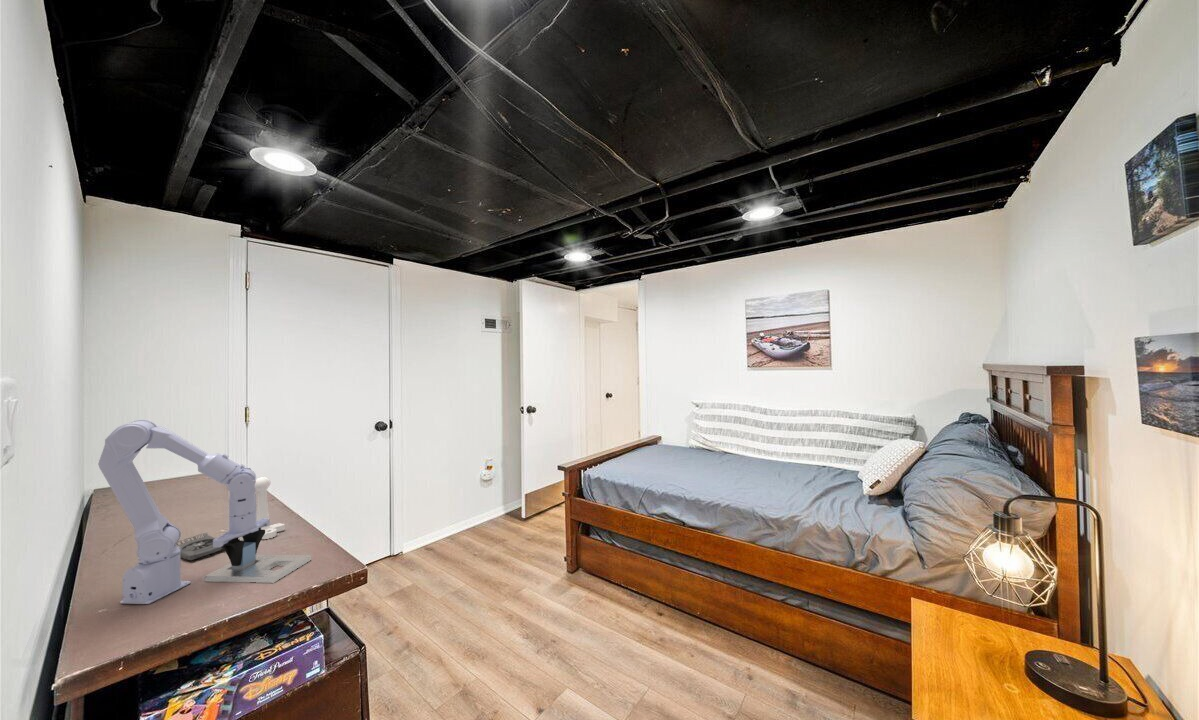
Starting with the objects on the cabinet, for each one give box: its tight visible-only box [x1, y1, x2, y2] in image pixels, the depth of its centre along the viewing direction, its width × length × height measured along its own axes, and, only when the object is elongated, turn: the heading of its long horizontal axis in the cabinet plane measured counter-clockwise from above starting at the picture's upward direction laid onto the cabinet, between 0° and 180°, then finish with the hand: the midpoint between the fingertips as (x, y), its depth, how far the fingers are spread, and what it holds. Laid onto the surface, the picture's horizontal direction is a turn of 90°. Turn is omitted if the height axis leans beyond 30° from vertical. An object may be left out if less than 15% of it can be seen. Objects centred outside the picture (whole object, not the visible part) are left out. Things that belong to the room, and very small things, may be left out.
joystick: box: [241, 476, 286, 541], centre depth 134 cm, size 11×8×20 cm
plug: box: [231, 542, 257, 570], centre depth 112 cm, size 4×4×7 cm
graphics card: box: [175, 531, 224, 561], centre depth 123 cm, size 17×4×12 cm
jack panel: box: [204, 553, 312, 584], centre depth 111 cm, size 12×20×2 cm, turn 85°
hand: (243, 561), depth 111 cm, fingers closed on plug, 4 cm apart
